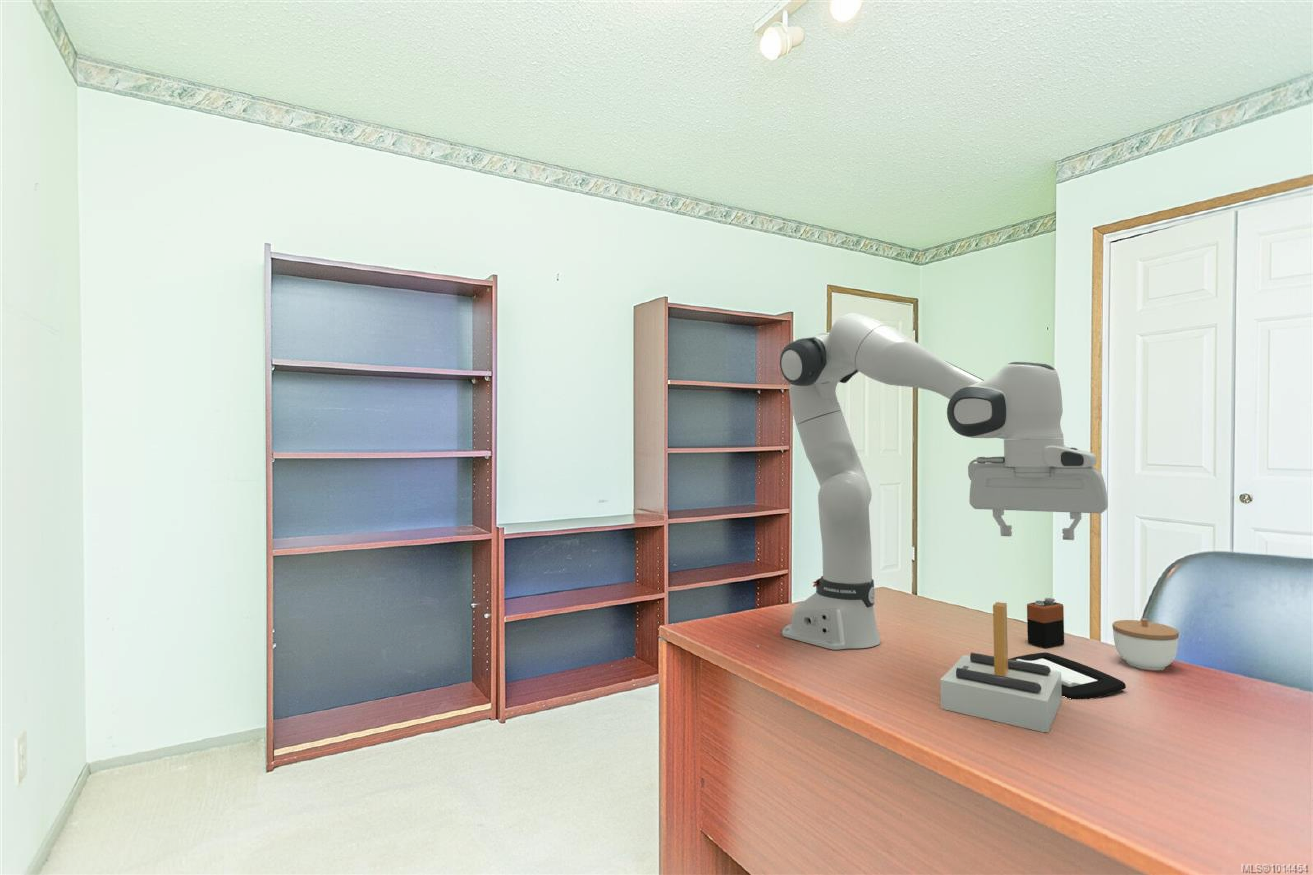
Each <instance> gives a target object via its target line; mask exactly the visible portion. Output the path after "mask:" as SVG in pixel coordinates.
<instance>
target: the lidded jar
mask: <svg viewBox="0 0 1313 875" xmlns="http://www.w3.org/2000/svg"><path fill="white" fill-rule="evenodd" d="M1140 619H1141V620H1136V619H1135V620H1134V619H1122V620H1116V621H1113V622H1112V632H1113V636H1112V637H1113V641H1114V646H1115V649H1116V650H1117V652H1118V655H1120V656H1121V657H1122V658H1123V660H1124V661H1126V664H1127V665H1129V666H1131V667H1133V668H1137V669H1140V670H1147V671H1155V672H1157V671H1163V670H1165V669H1166V667H1169V665H1170V664H1172V663H1173V661H1174V660H1175V659H1176V656H1177V654H1178V648H1179V637H1180V636H1179V635H1180V634H1179V631H1178V630H1177V629H1176V628H1174V627H1172V626H1169V625H1167V624H1163V623H1162V624H1161V623H1159V622H1155V621H1154V622H1152V621H1148V618H1140Z"/></svg>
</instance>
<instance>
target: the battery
mask: <svg viewBox="0 0 1313 875" xmlns="http://www.w3.org/2000/svg"><path fill="white" fill-rule="evenodd" d="M1055 601H1056V599H1055V598H1052V597H1045V598H1044V600H1035V602H1030V603H1027V604H1026V622H1027V623H1026V624H1027V626H1026V628H1027V630H1026V631H1027V633H1026V634H1027V644H1029V645H1031V644H1032V645H1031V646H1035V647H1038V648H1041V647H1042V649H1048V648H1054V647H1058V646H1062V645H1064V644H1065V625H1064V624H1065V622H1064V621H1065V618H1064V616H1065V615H1064V614H1065V612H1064V609H1065V608H1064V604H1063V603H1060V602H1055Z"/></svg>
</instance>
